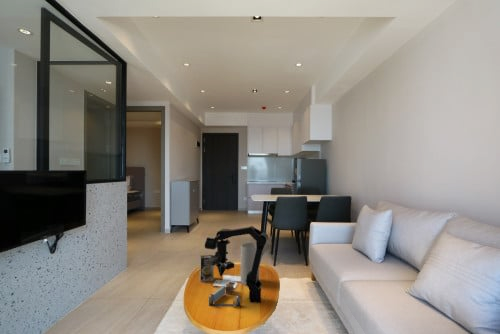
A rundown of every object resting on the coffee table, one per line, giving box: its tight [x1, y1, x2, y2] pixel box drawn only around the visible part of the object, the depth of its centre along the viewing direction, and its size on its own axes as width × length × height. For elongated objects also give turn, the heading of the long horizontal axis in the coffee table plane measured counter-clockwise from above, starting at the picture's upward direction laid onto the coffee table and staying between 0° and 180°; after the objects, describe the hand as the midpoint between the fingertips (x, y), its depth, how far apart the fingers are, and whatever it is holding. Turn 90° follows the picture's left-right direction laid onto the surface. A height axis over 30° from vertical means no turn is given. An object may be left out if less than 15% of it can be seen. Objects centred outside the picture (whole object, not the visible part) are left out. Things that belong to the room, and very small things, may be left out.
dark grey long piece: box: [208, 293, 242, 309], centre depth 155 cm, size 18×4×6 cm, turn 88°
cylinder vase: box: [240, 242, 260, 286], centre depth 188 cm, size 12×12×25 cm
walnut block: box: [225, 283, 235, 295], centre depth 172 cm, size 4×4×4 cm
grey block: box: [212, 285, 226, 303], centre depth 163 cm, size 12×2×5 cm, turn 154°
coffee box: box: [199, 254, 215, 283], centre depth 191 cm, size 9×6×16 cm
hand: (221, 275), depth 169 cm, fingers closed
